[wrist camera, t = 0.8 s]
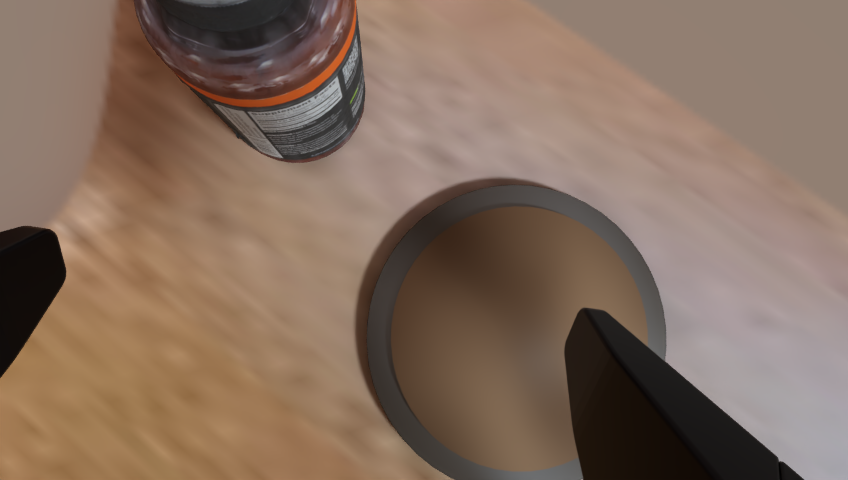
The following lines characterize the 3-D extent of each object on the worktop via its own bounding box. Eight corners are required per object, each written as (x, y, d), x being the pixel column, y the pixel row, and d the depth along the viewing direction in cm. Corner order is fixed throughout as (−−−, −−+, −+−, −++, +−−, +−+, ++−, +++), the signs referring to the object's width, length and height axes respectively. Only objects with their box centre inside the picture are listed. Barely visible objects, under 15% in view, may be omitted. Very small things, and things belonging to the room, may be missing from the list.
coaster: (528, 553, 21) (535, 565, 20) (303, 344, 21) (299, 347, 20) (715, 323, 23) (729, 325, 22) (505, 129, 23) (509, 122, 22)
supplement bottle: (219, 46, 22) (45, -205, 11) (353, 27, 22) (322, -230, 11) (241, 178, 21) (83, 61, 10) (377, 155, 22) (370, 21, 11)
